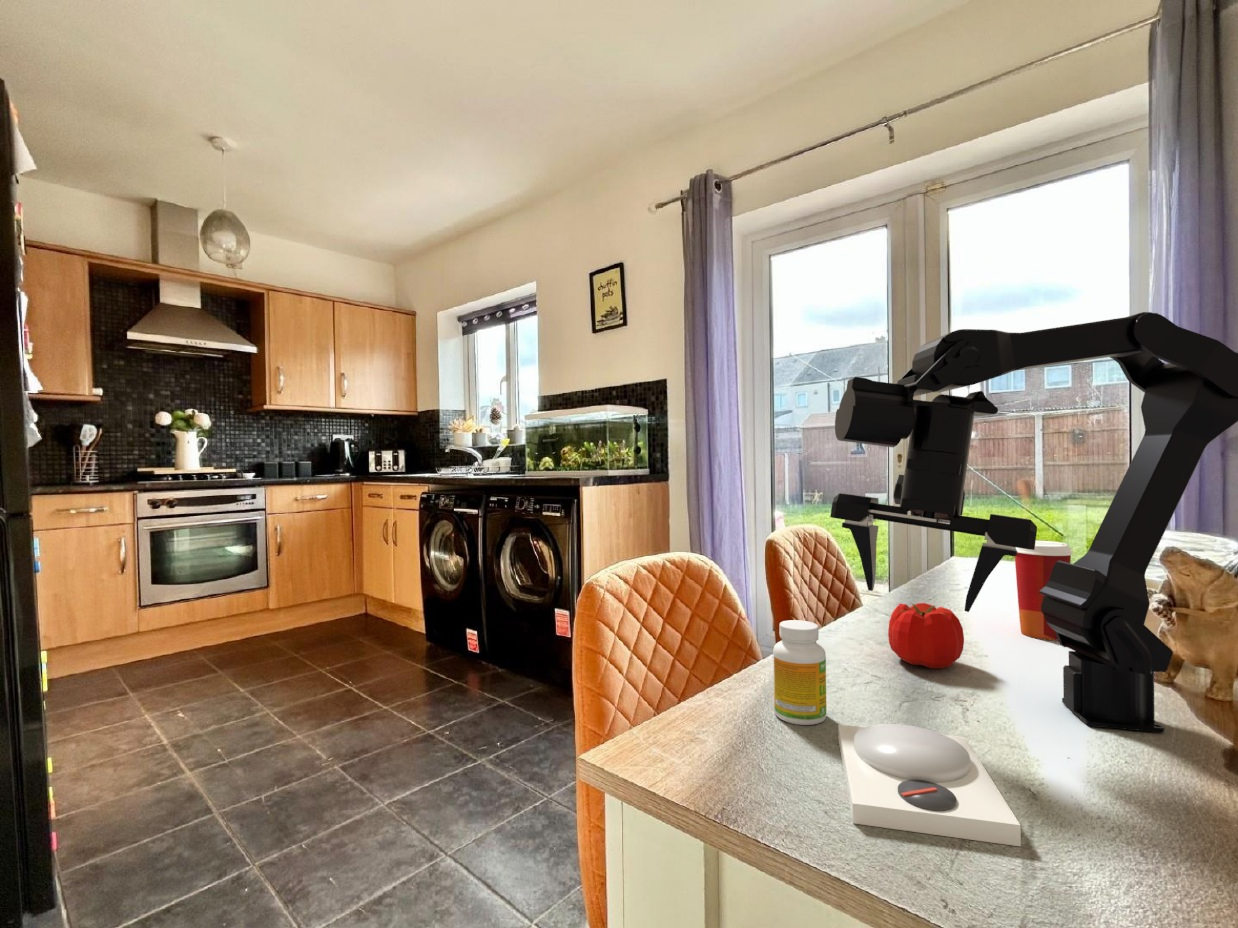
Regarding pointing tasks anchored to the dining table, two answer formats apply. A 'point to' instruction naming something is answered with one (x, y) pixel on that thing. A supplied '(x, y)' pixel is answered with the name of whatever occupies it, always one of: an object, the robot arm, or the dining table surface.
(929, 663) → the tomato
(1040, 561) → the paper cup
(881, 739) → the kitchen scale
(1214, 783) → the dining table surface
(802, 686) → the supplement bottle
